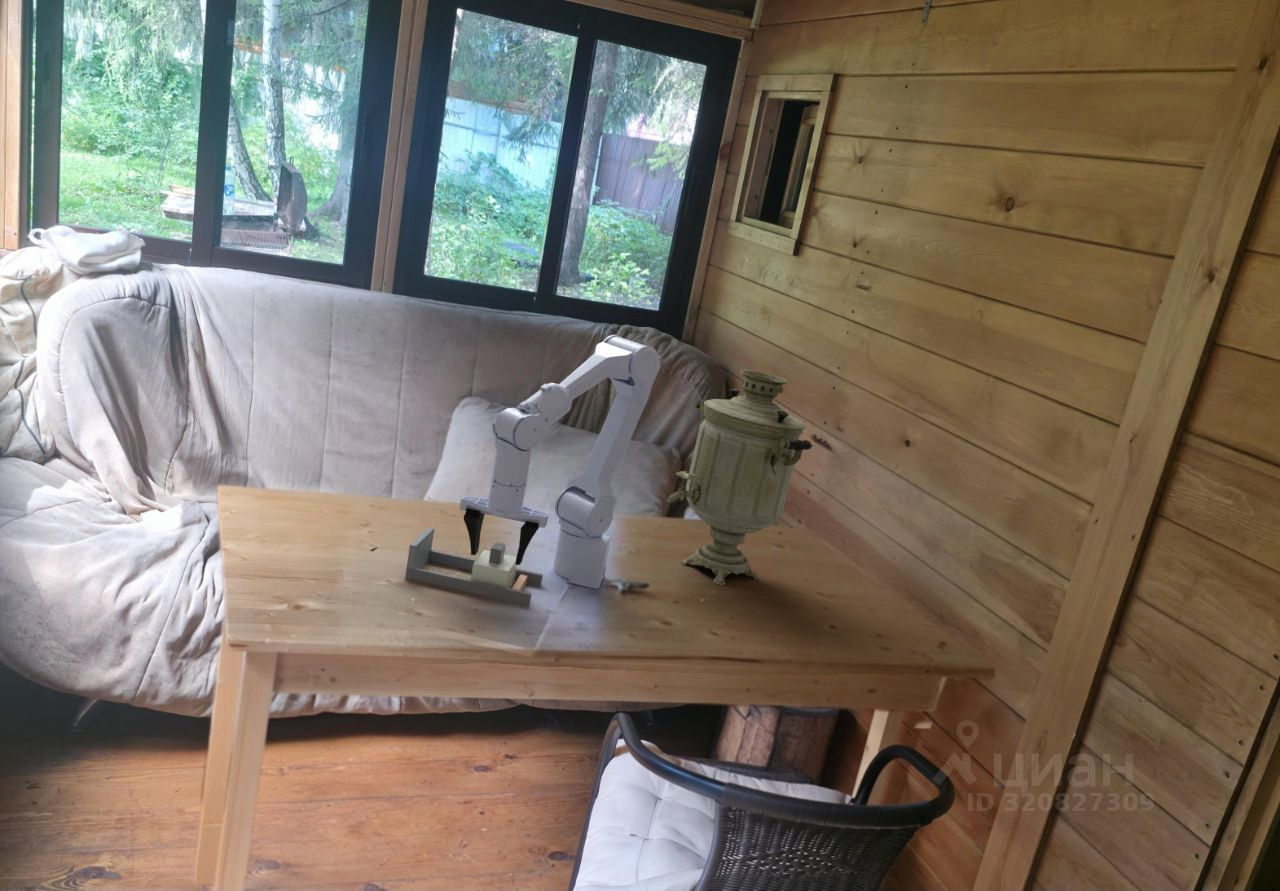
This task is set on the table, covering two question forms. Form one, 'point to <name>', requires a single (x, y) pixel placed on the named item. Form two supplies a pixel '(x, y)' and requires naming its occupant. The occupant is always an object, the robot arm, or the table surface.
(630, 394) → the robot arm
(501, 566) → the pale green knobbed block
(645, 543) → the table surface
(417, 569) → the bay
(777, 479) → the samovar
